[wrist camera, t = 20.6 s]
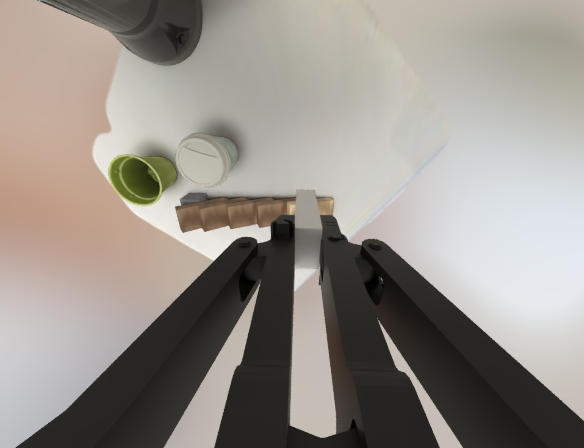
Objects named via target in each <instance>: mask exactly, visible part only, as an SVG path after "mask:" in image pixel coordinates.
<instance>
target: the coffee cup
mask: <svg viewBox="0 0 584 448" xmlns="http://www.w3.org/2000/svg"><path fill="white" fill-rule="evenodd" d="M175 159H176V165H177V168H178V170H179V172H180V173H181V175H182V176H183V177H184V178H185V179H186V180H187V181H189V182H190V183H192V184H194V185H196V186H200V187H214V186H217V185H220V184H221V183H223V182H224V181H225V180H226V179H227V177H228V175H229V173H230V170H231V168H232V167H233V166H234V164H235V163H236V161H237V159H238V149H237V147H236V145H235V144H234V142H233V141H231V140H230V139H228V138H225V137H217V136H211V135H208V134H204V133H194V134H191V135H189V136H187V137H186V138H184V139H183V140H182V141H181V143H180V144H179V146H178V148H177V151H176V156H175Z"/></svg>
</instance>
